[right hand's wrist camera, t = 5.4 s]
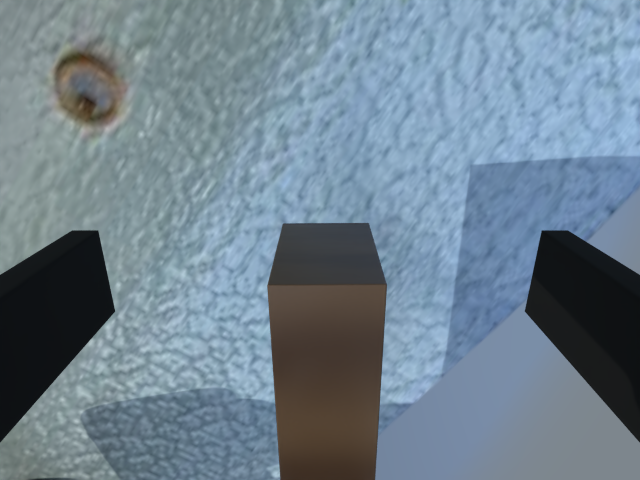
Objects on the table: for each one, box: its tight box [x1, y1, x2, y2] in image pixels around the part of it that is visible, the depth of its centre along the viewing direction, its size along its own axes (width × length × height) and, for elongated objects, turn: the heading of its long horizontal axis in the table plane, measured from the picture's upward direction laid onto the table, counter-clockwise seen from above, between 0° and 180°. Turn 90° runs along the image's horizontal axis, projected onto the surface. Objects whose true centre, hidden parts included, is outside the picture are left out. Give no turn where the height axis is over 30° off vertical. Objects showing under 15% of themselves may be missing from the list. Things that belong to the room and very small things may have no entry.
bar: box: [267, 223, 387, 480], centre depth 28 cm, size 26×6×8 cm, turn 1°
